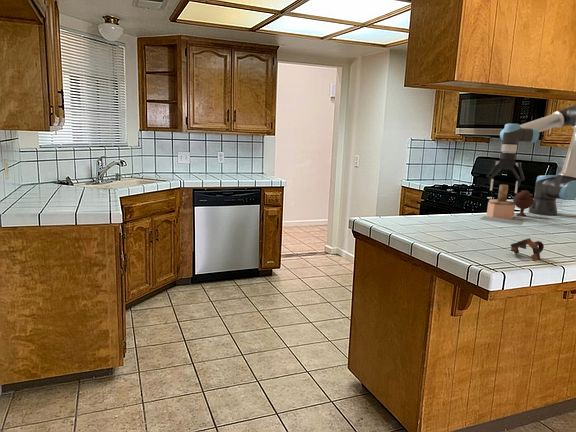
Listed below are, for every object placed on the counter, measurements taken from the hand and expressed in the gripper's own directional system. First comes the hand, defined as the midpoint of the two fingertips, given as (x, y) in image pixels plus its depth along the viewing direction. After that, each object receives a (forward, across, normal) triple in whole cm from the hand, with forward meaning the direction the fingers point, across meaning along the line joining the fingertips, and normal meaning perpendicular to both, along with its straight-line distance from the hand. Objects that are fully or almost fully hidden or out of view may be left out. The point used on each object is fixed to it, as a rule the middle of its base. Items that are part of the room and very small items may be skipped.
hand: (503, 191), depth 248 cm
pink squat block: (+14, 0, 0) cm, 14 cm away
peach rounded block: (+6, 0, 0) cm, 6 cm away
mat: (+14, +3, -13) cm, 20 cm away
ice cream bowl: (+15, +9, +16) cm, 23 cm away
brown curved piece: (+15, +23, -88) cm, 92 cm away
